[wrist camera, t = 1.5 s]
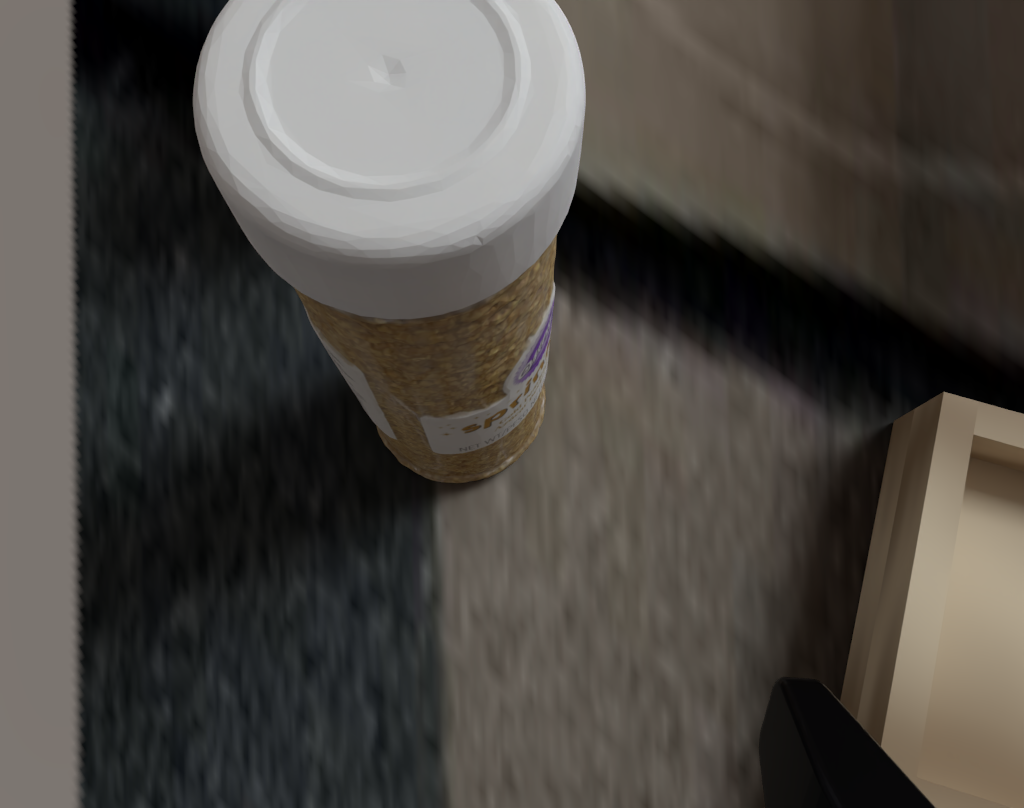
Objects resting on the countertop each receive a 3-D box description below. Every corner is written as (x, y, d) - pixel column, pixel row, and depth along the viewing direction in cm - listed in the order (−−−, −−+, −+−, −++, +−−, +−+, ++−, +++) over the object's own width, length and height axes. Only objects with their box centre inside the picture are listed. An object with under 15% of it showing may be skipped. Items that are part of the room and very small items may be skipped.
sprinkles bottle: (533, 497, 22) (563, 283, 9) (356, 472, 22) (132, 227, 9) (556, 328, 23) (611, -75, 10) (388, 306, 23) (230, -118, 10)
